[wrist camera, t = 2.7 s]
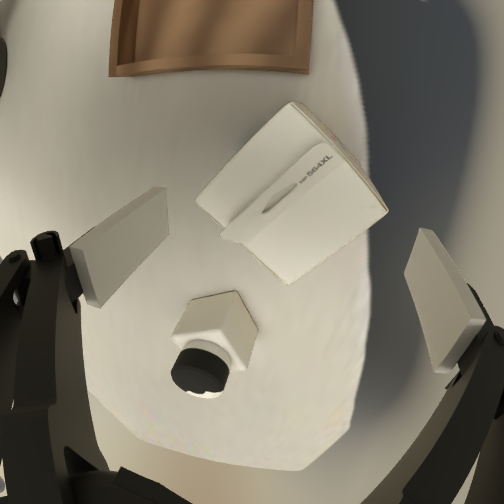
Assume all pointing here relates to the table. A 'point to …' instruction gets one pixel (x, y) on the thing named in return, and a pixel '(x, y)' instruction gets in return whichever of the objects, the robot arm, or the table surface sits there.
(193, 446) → the table surface
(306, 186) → the ink box
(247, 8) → the walnut tray
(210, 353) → the medicine bottle
